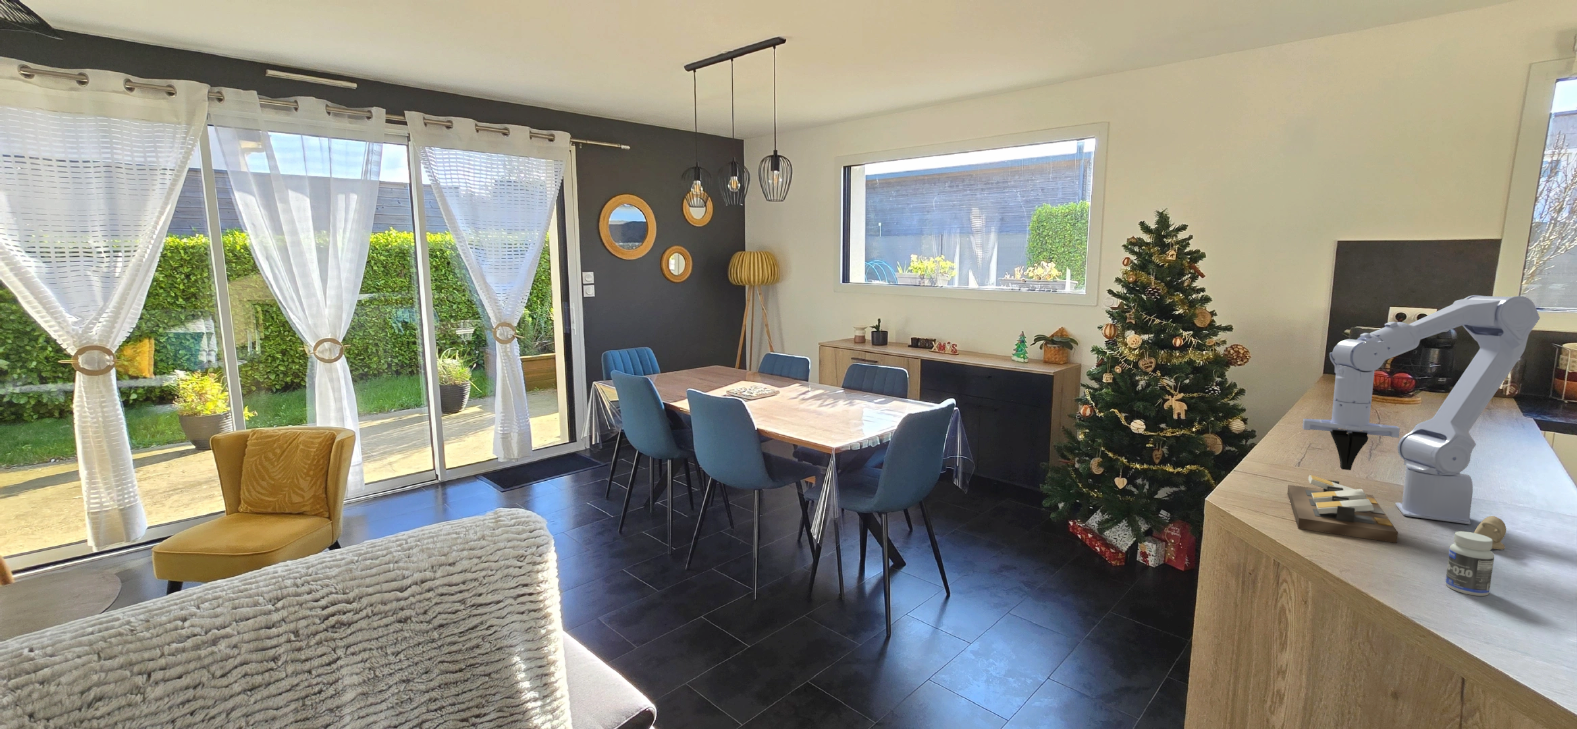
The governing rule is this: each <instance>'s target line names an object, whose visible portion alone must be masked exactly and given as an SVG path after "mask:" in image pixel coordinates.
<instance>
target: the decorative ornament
mask: <svg viewBox="0 0 1577 729" xmlns="http://www.w3.org/2000/svg"><path fill="white" fill-rule="evenodd" d="M1473 533H1477V534H1480V535H1484V536H1487V537H1489V538H1491V539H1492V540H1493V542H1492V549H1493V550H1499V551H1500V550H1505V549H1506V546H1505V544H1504V543H1502V540H1503V539H1504V538H1505V536H1506V534H1507V527H1506V524H1505V522H1504V521H1503V520H1502V519H1501V518H1499V517H1497V516H1495V515H1489V516H1487V517H1485V518H1484V519H1482V520H1481V521H1480V523H1479V524H1478V525H1477V527H1476V529H1475V530H1474V531H1473ZM1492 549H1491V550H1492Z"/></svg>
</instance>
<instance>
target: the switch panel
mask: <svg viewBox="0 0 1577 729" xmlns="http://www.w3.org/2000/svg"><path fill="white" fill-rule="evenodd" d="M1327 480H1328V481H1331V482H1334V483H1337V484H1340V481H1338V480H1330V479H1327ZM1342 490H1343V488H1340V487H1331V486H1328V487H1327V489H1324V488H1319V487H1317V488H1316V487H1308V486H1300V485H1293V484H1288V485H1287V494H1286V495H1287V496H1288V500H1290V501H1289V503H1291V504H1290V506H1291V510H1292V513H1293V517H1294V520H1295V523H1296V527H1297V529H1301V530H1308V531H1314V532H1320V533H1327V534H1335V535H1341V536H1347V537H1348V536H1349V537H1353V538H1361V539H1367V540H1373V541H1380V542H1386V543H1393V544H1397V542H1398V536H1399V535H1398V534H1399V533H1398V530H1397V529H1396V527H1395V526H1394V525H1393V523H1392V521H1391V520H1390V518H1389V517H1388V516H1387V514H1386V513H1385V512H1384V509H1382V507H1381V506H1380V504H1379V503H1378V502H1377V500H1376V498H1375V497H1374V495H1373V494H1367V493H1365V494H1366V498H1367V499H1369V500H1370V502H1371V504H1372V505H1373V509H1374V510H1371V511H1356V512H1355V508H1351V507H1343V506H1338V507H1337V513H1325V514H1319V512H1318V510H1317V507H1316V503H1314V500H1313V498H1312V494H1311V493H1317V492H1330V491H1342ZM1346 500H1349V498H1348V497H1341V496H1333V495H1332V501H1346Z"/></svg>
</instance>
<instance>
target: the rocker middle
mask: <svg viewBox="0 0 1577 729" xmlns="http://www.w3.org/2000/svg"><path fill="white" fill-rule="evenodd" d="M1354 489H1355V490H1342V491H1330V492H1317V493H1311V494H1312V498H1313V500H1314V503H1318V502H1332V495H1333V496H1341V497H1348V498H1349V500H1360V499H1367V498H1366V494H1367V493H1365V492H1364V490H1363V489H1362V488H1358V489H1356V488H1354Z"/></svg>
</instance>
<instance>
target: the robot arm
mask: <svg viewBox="0 0 1577 729" xmlns="http://www.w3.org/2000/svg"><path fill="white" fill-rule="evenodd" d="M1540 318H1541V317H1540V315H1539V312H1538V309H1537V307H1536V305H1535V303H1534V302H1533V301H1532V300H1531V299H1530V298H1529V297H1526V296H1522V295H1517V296H1516V295H1513V296H1496V295H1495V296H1493V295H1492V296H1491V295H1490V296H1489V295H1487V296H1486V295H1481V294H1480V295H1479V294H1473V295H1469V296H1467V297H1465V298H1461V299H1458V300H1454V302H1453V303H1452V304H1450V305H1448V306H1445V307H1444V308H1442V309H1439V310H1437V311H1435V312H1433V313H1430V314H1428V315H1427V316H1424V317H1422V318H1420V319H1417V320H1415V321H1413V322H1411V323H1406V322H1402V321H1389V322H1385V323H1384V327H1382V328H1380V329H1377V330H1374V331H1372V332H1370V333H1369V332H1363V333H1361V334H1360V335H1359V337H1357V339H1353V338H1352V339H1351V338H1347V339H1344V340H1341V341H1339V342H1338V343H1337V344H1336V345H1335V346H1334V347H1333V350H1332V352H1329V359H1330V361H1331V363H1332V364H1333V366H1334V373H1335V378H1334V380H1335V381H1334V388H1333V389H1334V391H1333V399H1332V400H1333V401H1332V410H1331V419H1319V418H1318V419H1317V418H1316V419H1315V418H1303V420H1302V429H1303V430H1304V431H1305V430H1306V431H1311V430H1313V431H1324V432H1325V431H1326V432H1329V433H1330V435H1331V437H1332V440H1333V442H1334V444H1335V447H1336V450H1337V454H1338V458H1339V466H1340V467H1339V468H1340V469H1341V470H1345V471H1352V467H1353V465H1354V462H1355V459H1356V458H1357V456H1358V454H1359V453H1360V451H1361V450H1362V449H1363V447H1364V446H1365V445H1366V443H1367V442H1368V440H1369V436H1368V435H1370V436H1383V437H1391V438H1398V439H1399V441H1398V443H1397V453H1398V455H1399V457H1400V458H1401V459H1402V460H1403V465H1404V466H1405V473H1404V482H1403V493H1402V502H1395V506H1396V507H1397V508H1398V509H1399V511H1400V513H1401V514H1402V515H1403V516H1406V517H1413V518H1418V519H1420V518H1421V519H1426V520H1427V519H1428V520H1434V521H1441V522H1442V521H1443V522H1450V523H1458V524H1466V525H1471V521H1470V517H1471V509H1472V508H1471V507H1472V500H1473V492H1474V488H1473V487H1474V486H1473V485H1474V484H1473V480H1472V478H1471V477H1472V476H1470V475H1469V474H1467V473H1461V472H1463V471H1464V470H1465V469H1466V468H1467V467H1468V466H1469V464H1470V463H1471V456H1472V451H1473V450H1474V448H1475V447H1476V445H1477V444H1476V442H1475V440H1474V438H1473V437H1472V435H1471V434H1470V430H1471V429H1472V427H1473V426H1474V424H1476V422H1477V421H1478V419H1479V417H1480V416H1481V414H1482V413H1483V412H1484V411H1485V409H1486V407H1487V406H1488V404H1489V403H1490V401H1492V399H1493V398H1494V396H1495V394H1496V392H1498V390H1499V388H1500V387H1501V385H1502V384H1503V382H1504V381H1505V380H1506V378H1507V377H1508V376H1509V374H1510V372H1512V370H1513V368H1514V367H1515V365H1516V364H1517V363H1518V361H1519V359H1520V358H1521V356H1522V355H1523V354H1524V352H1525V350H1526V348H1527V347H1526V346H1527V343H1528V338H1529V335H1530V333H1531V332H1532V330H1533V329H1534V327H1535V326H1536V325H1537V323H1538V322H1539V320H1540ZM1461 326H1462V327H1463V328H1464V329H1465V330H1466V331H1467V333H1469V335H1470V336H1471V337H1472V339H1473V340H1474V341H1476V343H1477V344H1478V346H1479V349H1478V351H1477V352H1476V354H1475V355H1474V357H1473V358H1472V360H1471V361H1470V363H1469V364H1468V366H1467V367H1466V369H1465V370H1464V372H1463V373H1462V374H1461V376H1460V377H1459V379H1458V381H1456V383H1455V385H1454V386H1453V387H1452V389H1451V391H1450V392H1449V393H1448V395H1447V396H1446V398H1445V399H1444V401H1443V403H1442V404H1441V405H1440V407H1439V409H1438V410H1437V411H1436V413H1435V414H1434V416H1433V417H1432V418H1430V419H1427V420H1424V421H1422V422H1419V423H1417V424H1416V425H1415V426H1414V428H1413V429H1412V430H1411V431H1409V432H1408V433H1406V434H1404V435H1403V436H1402V437H1401V438H1400V431H1401V428H1400V427H1399V426H1397V425H1389V424H1388V425H1387V424H1381V423H1373V422H1370V418H1371V409H1372V408H1371V407H1372V402H1373V401H1372V398H1373V389H1374V379H1375V371H1377V370H1379V368H1381V367H1382V365H1383V364H1384V362H1385V361H1387V360H1389V359H1392V358H1394V357H1397V356H1399V355H1402V354H1404V353H1407V352H1409V351H1412V350H1415V349H1416V348H1417V347H1419V345H1420V342H1421V340H1423V339H1425V338H1428V337H1433V336H1435V335H1438V334H1440V333H1444V332H1447V331H1450V330H1452V329H1455V328H1456V329H1457V328H1458V327H1461Z"/></svg>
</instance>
